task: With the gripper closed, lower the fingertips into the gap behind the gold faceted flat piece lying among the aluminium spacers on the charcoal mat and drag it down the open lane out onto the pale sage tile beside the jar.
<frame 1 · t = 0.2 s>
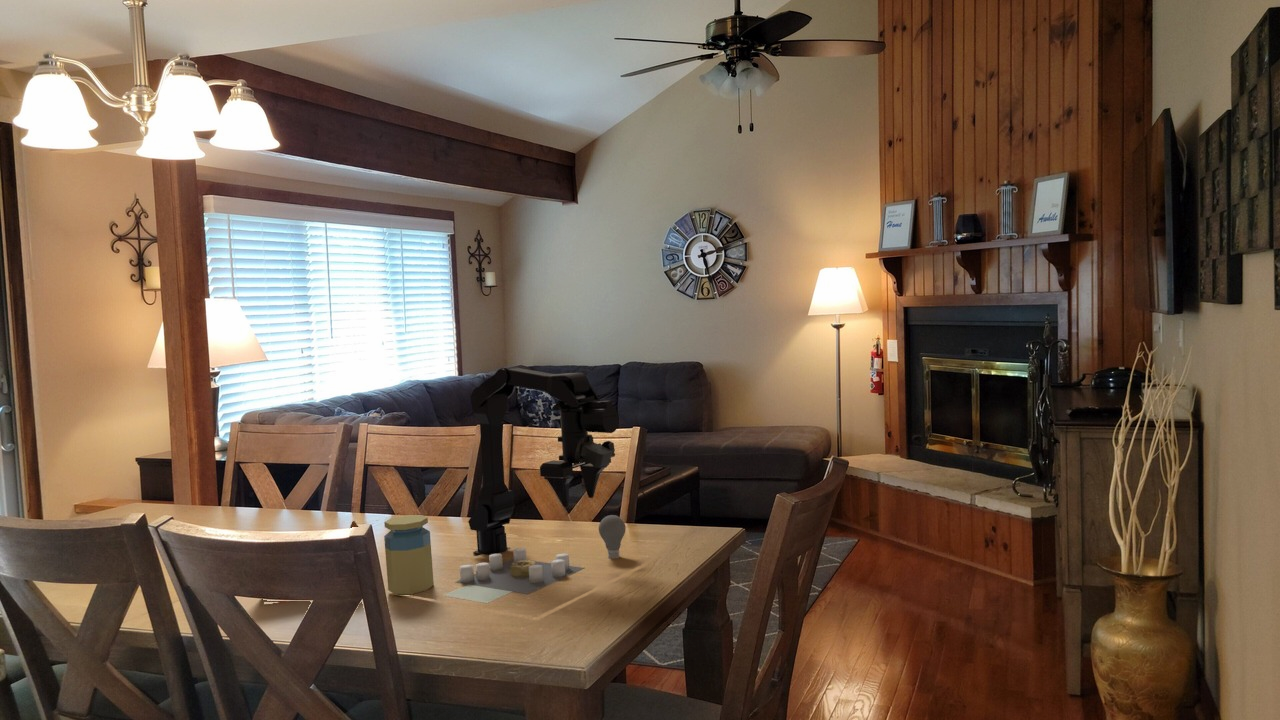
hand: (578, 502, 199), 14 cm above the table, tool pointing down, fingers open, 9 cm apart
light bulb: (614, 560, 203), on the table
stone tool: (360, 592, 190), on the table
jar: (411, 591, 189), on the table
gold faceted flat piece: (523, 573, 194), point 1 cm above the table, touching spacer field
tile: (477, 596, 183), on the table
stack of blocks: (316, 593, 192), on the table
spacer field: (520, 577, 194), on the table
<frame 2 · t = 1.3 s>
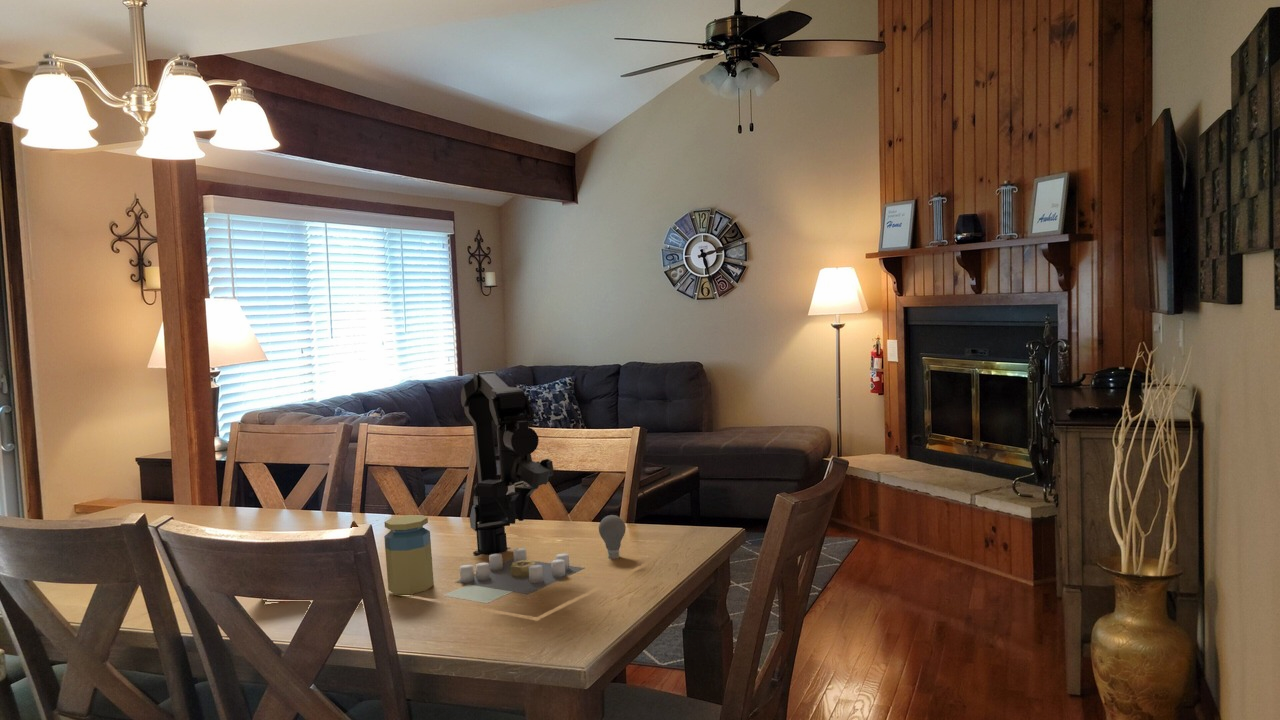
hand: (516, 522, 193), 12 cm above the table, tool pointing down, fingers open, 2 cm apart
nothing on the table moved.
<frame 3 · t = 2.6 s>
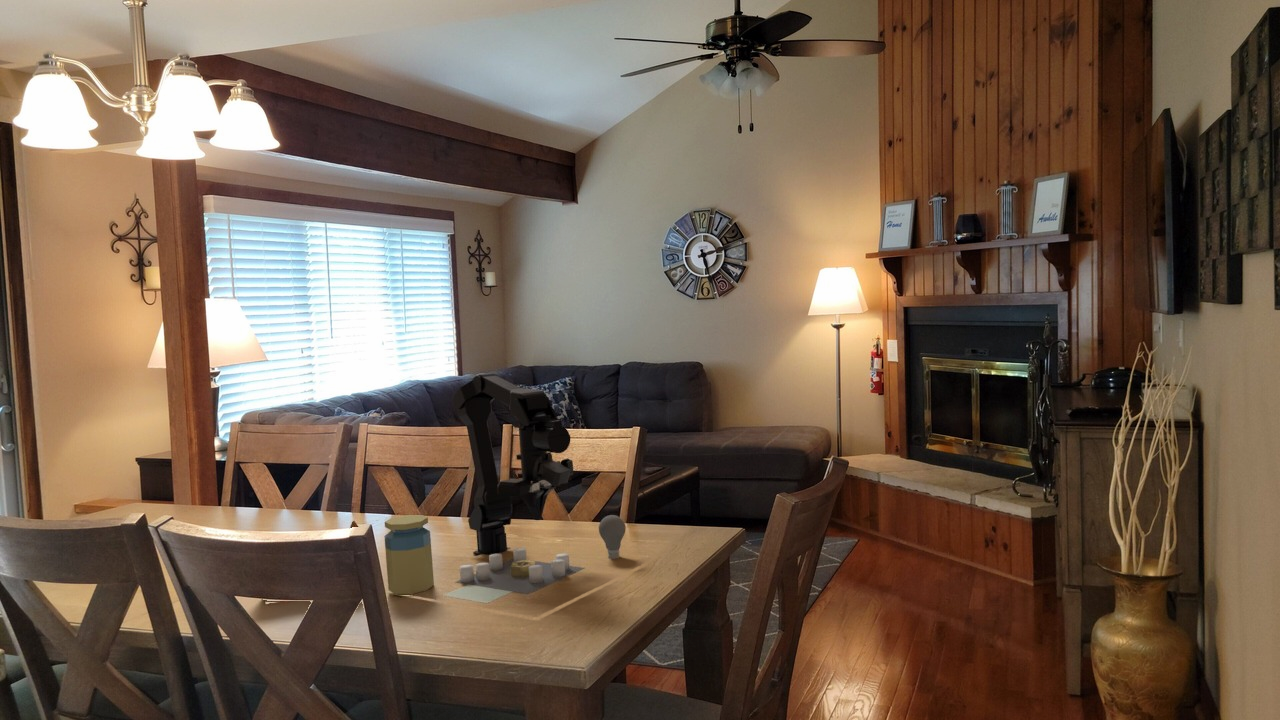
hand: (537, 519, 199), 11 cm above the table, tool pointing down, fingers closed
nothing on the table moved.
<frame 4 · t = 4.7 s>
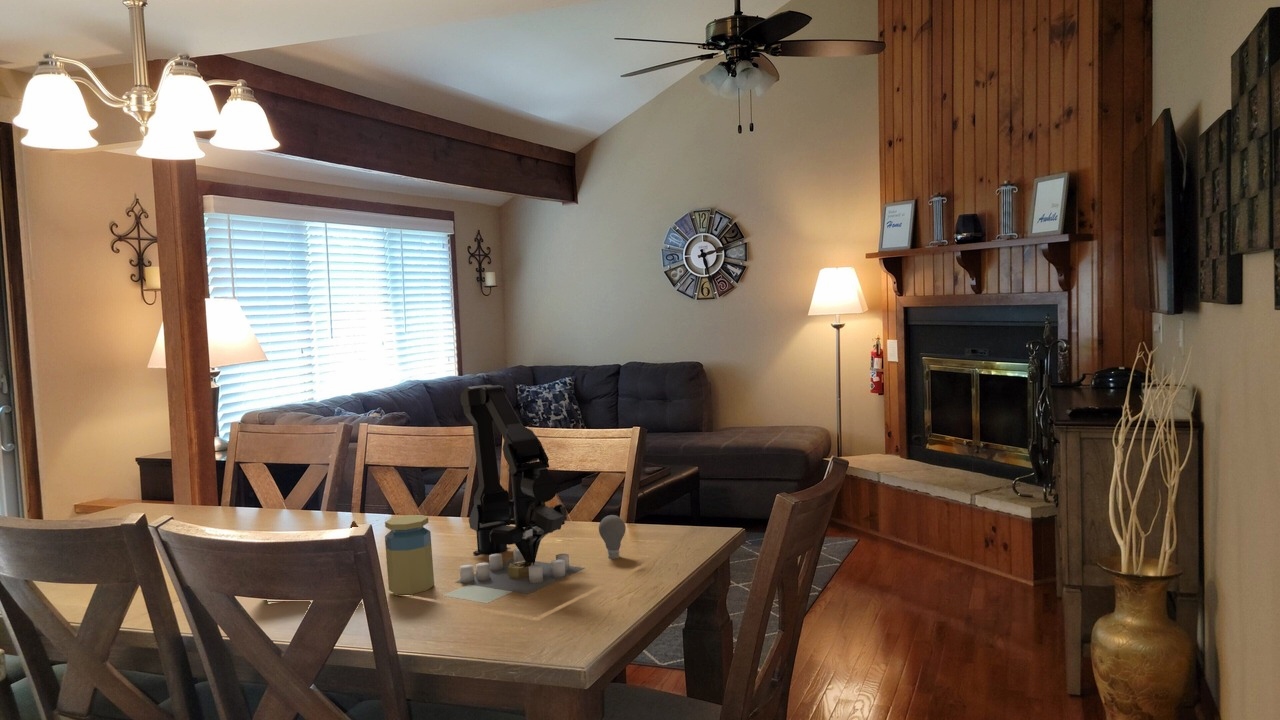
hand: (531, 566, 196), 2 cm above the table, tool pointing down, fingers closed
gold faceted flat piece: (521, 574, 194), point 1 cm above the table, touching gripper
everything else where it was.
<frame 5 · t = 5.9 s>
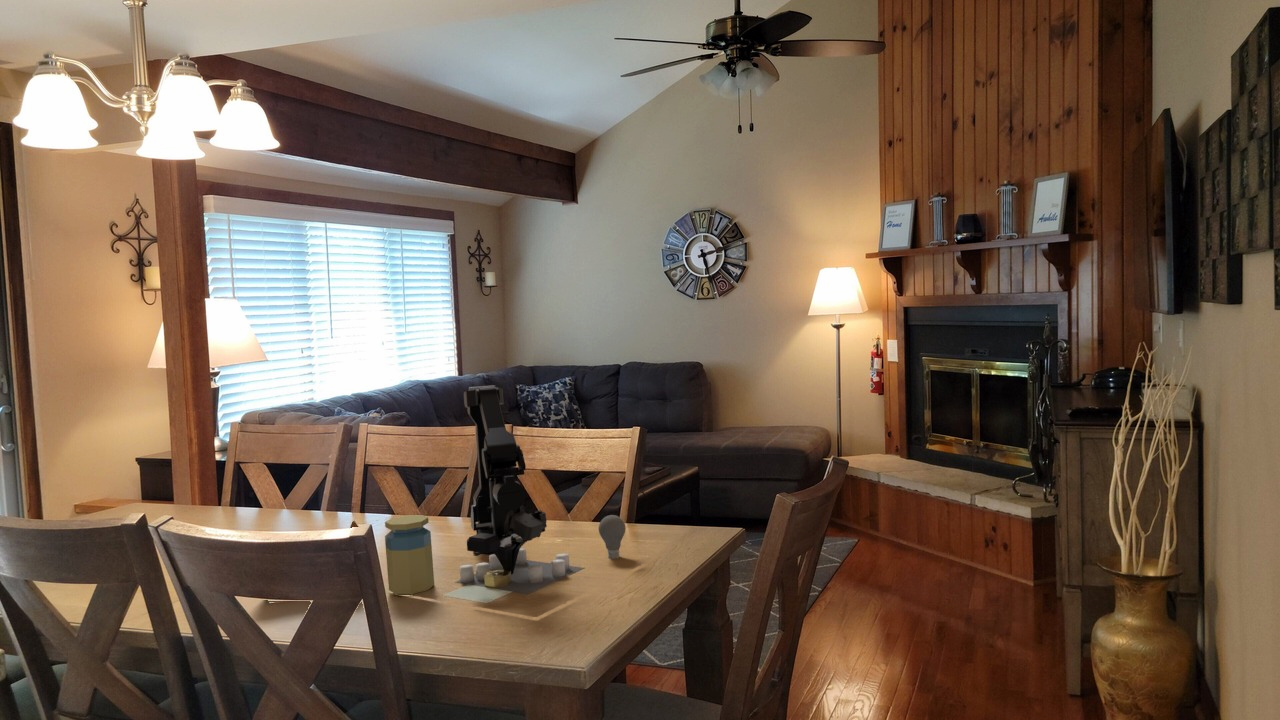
hand: (510, 574, 191), 2 cm above the table, tool pointing down, fingers closed
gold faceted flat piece: (498, 583, 188), point 1 cm above the table, touching gripper, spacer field
everything else where it was.
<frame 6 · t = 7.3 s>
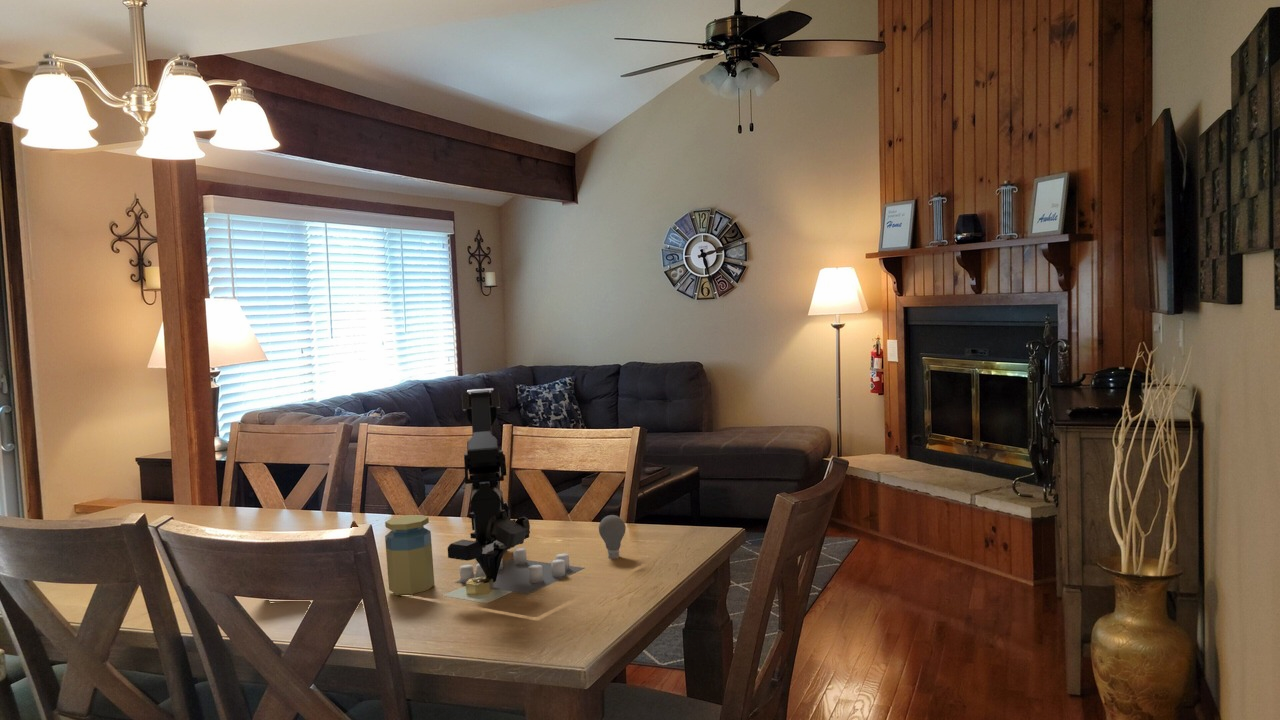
hand: (492, 582, 186), 2 cm above the table, tool pointing down, fingers closed
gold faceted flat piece: (480, 591, 184), point 1 cm above the table, touching gripper, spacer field, tile
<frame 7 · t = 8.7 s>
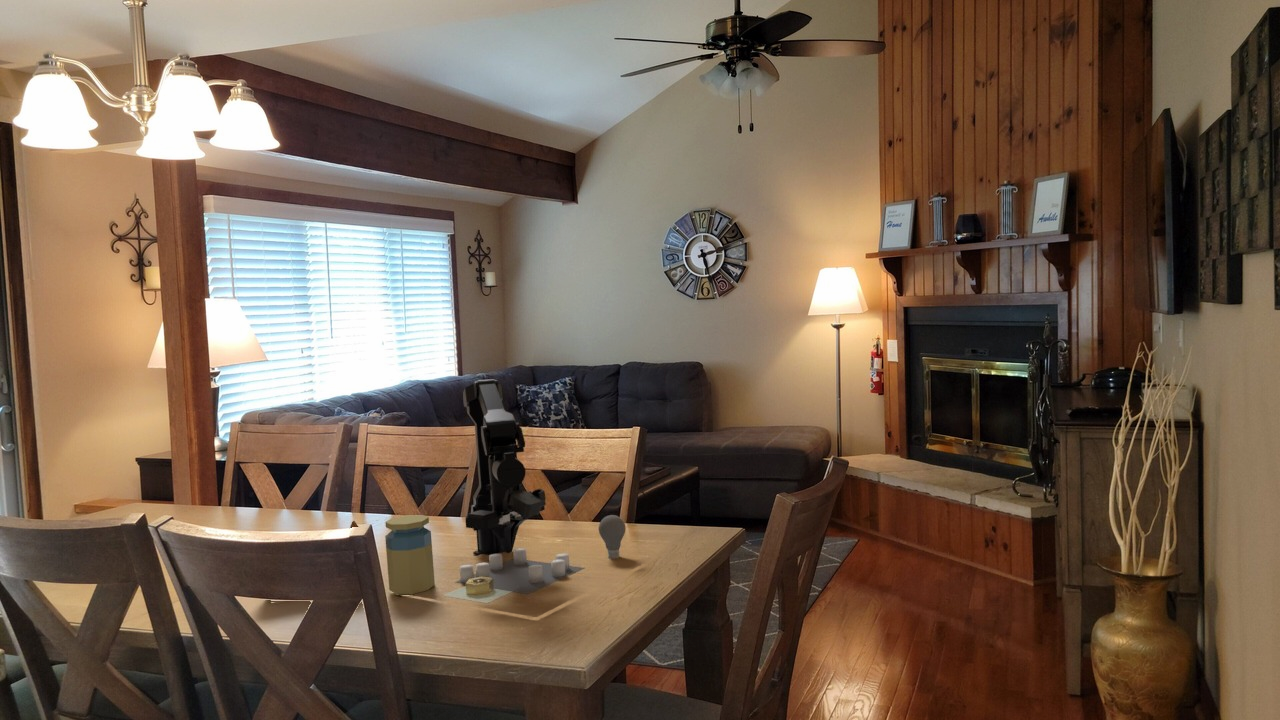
hand: (508, 552, 190), 6 cm above the table, tool pointing down, fingers closed
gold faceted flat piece: (480, 591, 184), point 1 cm above the table, touching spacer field, tile
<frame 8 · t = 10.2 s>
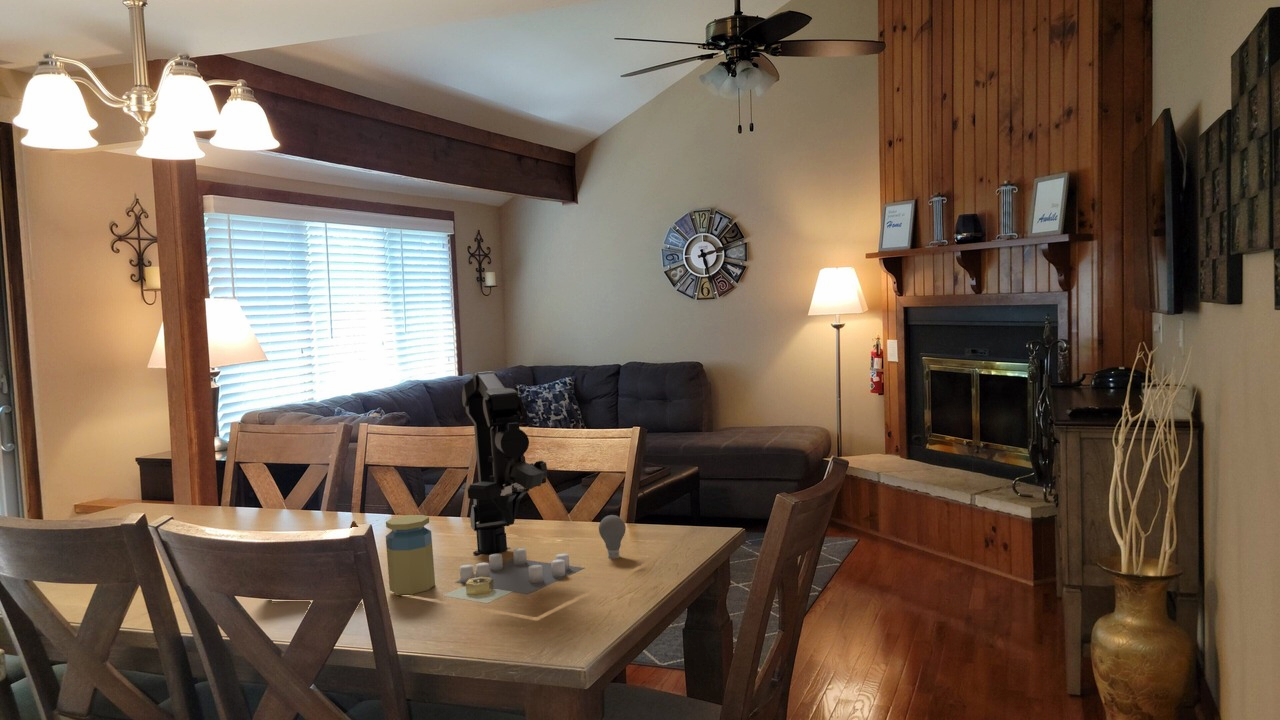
hand: (510, 524, 191), 12 cm above the table, tool pointing down, fingers closed
at the end: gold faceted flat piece inside the target area (1.9 cm from its centre), point 0.6 cm above the table; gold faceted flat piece moved 13.0 cm from its start; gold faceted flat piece 15.8 cm from the jar (horizontally) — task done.
